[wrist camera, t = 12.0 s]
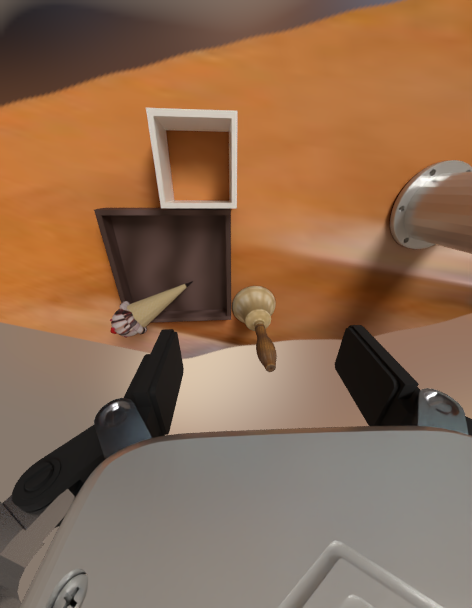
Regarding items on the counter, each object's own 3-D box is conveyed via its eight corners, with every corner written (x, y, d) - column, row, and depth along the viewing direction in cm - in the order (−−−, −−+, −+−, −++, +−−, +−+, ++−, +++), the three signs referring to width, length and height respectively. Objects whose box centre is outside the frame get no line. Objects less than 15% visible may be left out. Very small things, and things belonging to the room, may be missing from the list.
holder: (233, 126, 27) (237, 110, 22) (233, 205, 31) (236, 208, 26) (160, 123, 26) (145, 107, 21) (170, 204, 31) (161, 208, 25)
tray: (229, 208, 32) (230, 209, 29) (230, 311, 40) (231, 319, 38) (104, 207, 30) (94, 209, 28) (133, 314, 39) (127, 323, 36)
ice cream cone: (181, 260, 34) (91, 313, 30) (201, 288, 33) (110, 346, 29) (186, 275, 39) (110, 321, 36) (203, 299, 38) (127, 349, 35)
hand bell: (252, 330, 43) (268, 398, 29) (223, 306, 40) (225, 370, 26) (283, 304, 40) (318, 365, 27) (255, 276, 37) (278, 329, 23)
